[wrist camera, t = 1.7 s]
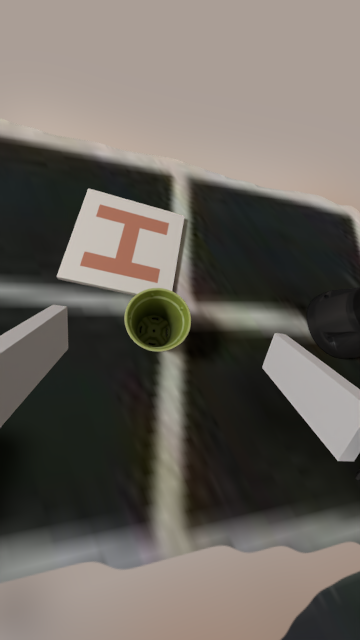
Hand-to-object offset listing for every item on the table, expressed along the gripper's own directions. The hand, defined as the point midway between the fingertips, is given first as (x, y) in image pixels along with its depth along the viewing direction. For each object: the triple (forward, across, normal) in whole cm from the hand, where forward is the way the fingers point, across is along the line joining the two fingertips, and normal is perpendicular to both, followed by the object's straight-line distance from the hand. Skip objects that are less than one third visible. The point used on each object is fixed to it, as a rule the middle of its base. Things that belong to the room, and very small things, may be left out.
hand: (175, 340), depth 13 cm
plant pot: (+22, +1, +10) cm, 24 cm away
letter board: (+32, +8, -4) cm, 33 cm away
